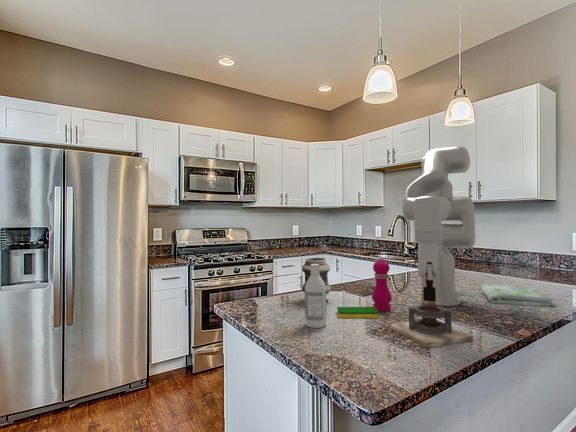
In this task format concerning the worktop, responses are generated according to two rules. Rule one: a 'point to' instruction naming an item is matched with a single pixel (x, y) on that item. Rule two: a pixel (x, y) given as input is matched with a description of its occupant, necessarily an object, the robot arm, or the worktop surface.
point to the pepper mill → (381, 286)
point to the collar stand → (431, 328)
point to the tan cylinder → (428, 304)
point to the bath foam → (315, 299)
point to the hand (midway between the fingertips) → (429, 298)
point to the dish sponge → (357, 312)
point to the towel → (515, 295)
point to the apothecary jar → (323, 271)
